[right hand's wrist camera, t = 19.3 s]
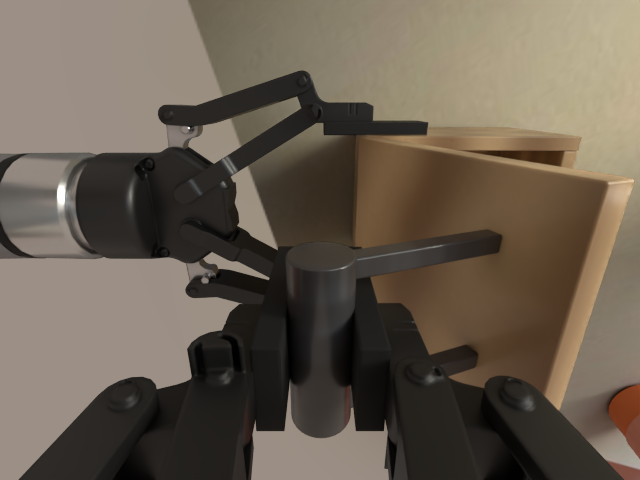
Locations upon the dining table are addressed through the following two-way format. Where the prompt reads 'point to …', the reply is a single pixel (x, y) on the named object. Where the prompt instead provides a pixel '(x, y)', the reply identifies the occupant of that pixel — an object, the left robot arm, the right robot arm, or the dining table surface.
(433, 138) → the chest
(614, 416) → the cup with straw
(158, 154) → the left robot arm
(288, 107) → the dining table surface
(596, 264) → the lid
